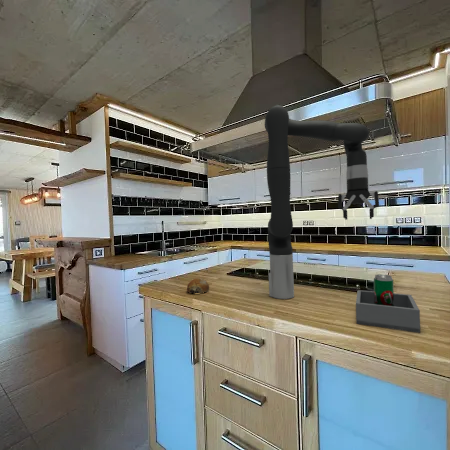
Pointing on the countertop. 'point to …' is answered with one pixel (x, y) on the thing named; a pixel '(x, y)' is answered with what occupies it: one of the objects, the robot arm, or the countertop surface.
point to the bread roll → (198, 286)
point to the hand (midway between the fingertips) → (358, 219)
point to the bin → (388, 312)
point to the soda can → (383, 290)
